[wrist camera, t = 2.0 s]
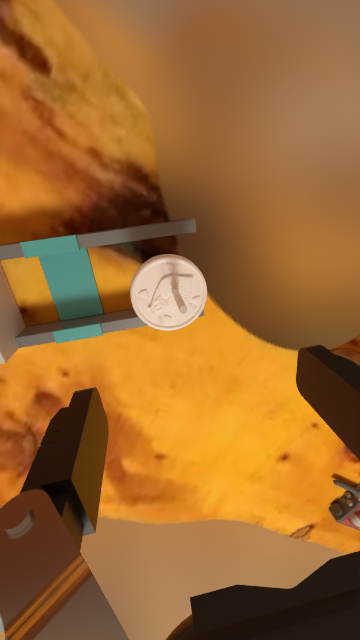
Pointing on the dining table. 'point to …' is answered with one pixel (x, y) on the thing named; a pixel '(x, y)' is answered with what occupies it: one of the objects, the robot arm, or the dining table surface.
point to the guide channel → (71, 287)
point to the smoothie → (168, 292)
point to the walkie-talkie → (347, 506)
